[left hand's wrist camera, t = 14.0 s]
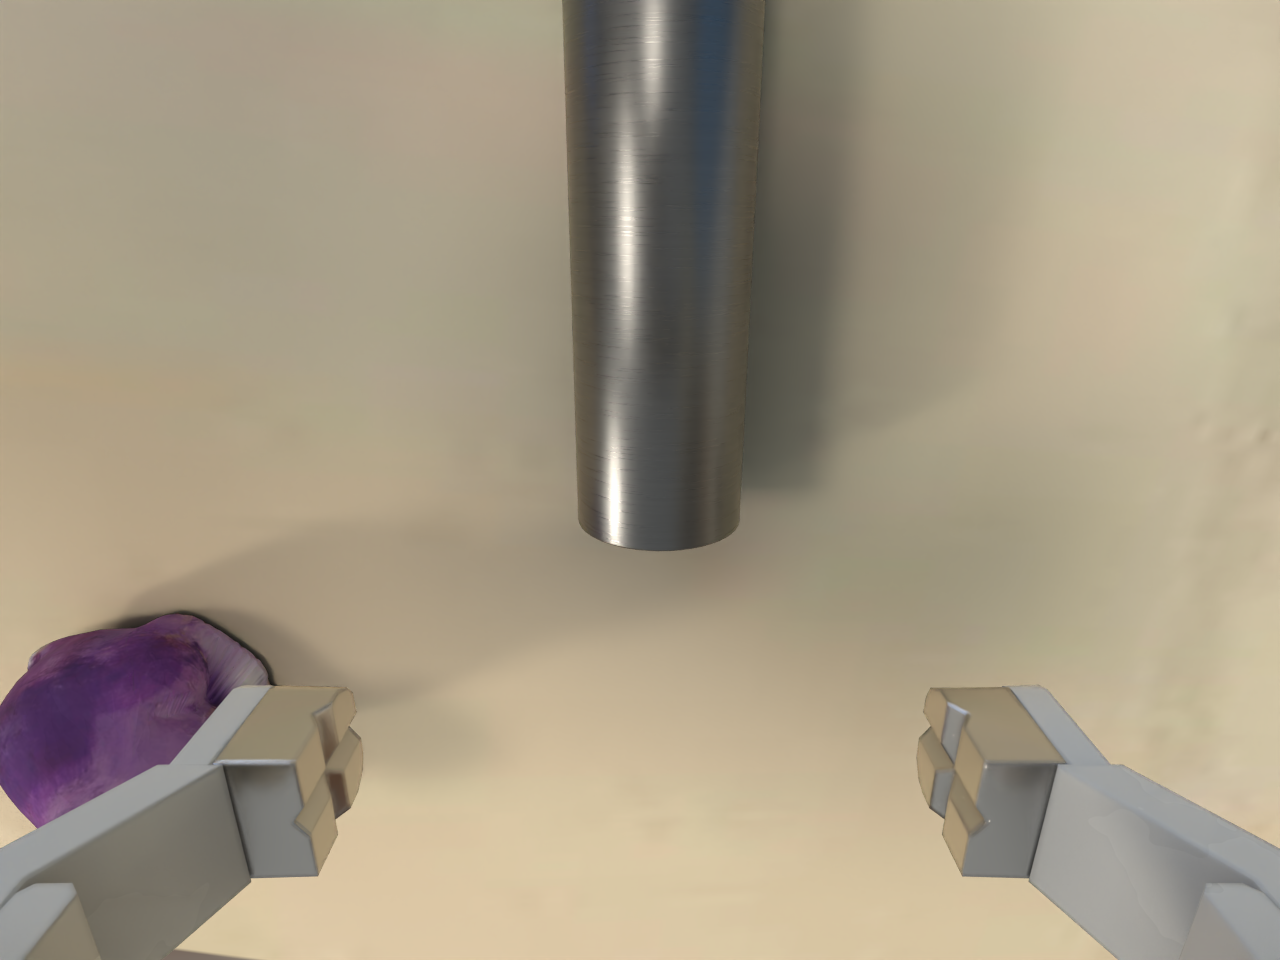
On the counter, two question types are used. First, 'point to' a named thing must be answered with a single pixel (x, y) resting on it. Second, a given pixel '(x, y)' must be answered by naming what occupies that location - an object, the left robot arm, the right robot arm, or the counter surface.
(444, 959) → the counter surface
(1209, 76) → the counter surface
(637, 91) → the rod
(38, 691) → the figurine
